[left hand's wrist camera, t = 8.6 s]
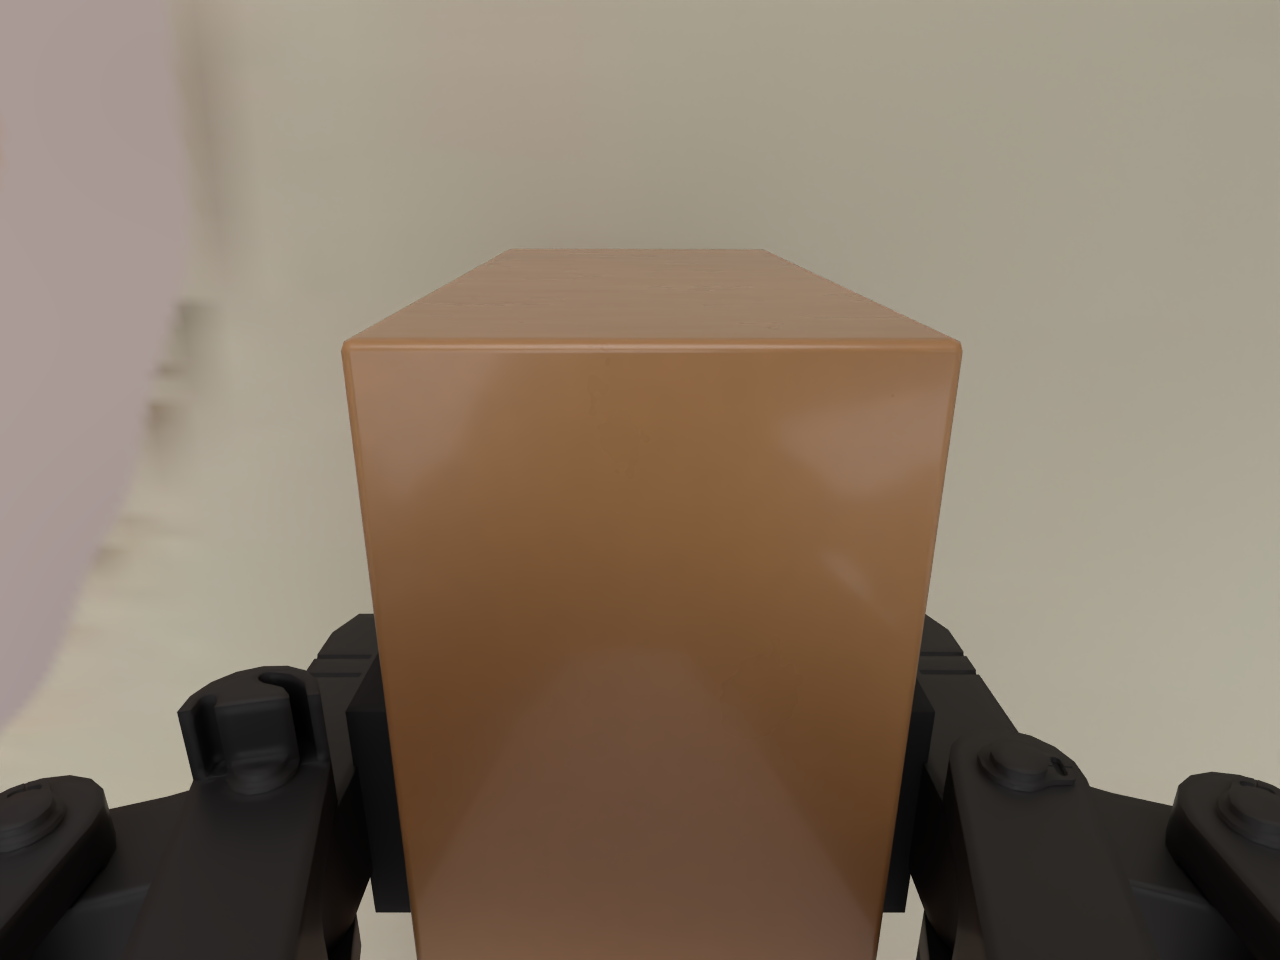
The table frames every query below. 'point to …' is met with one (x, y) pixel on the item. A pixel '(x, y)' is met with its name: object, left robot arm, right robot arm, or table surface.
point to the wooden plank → (648, 599)
